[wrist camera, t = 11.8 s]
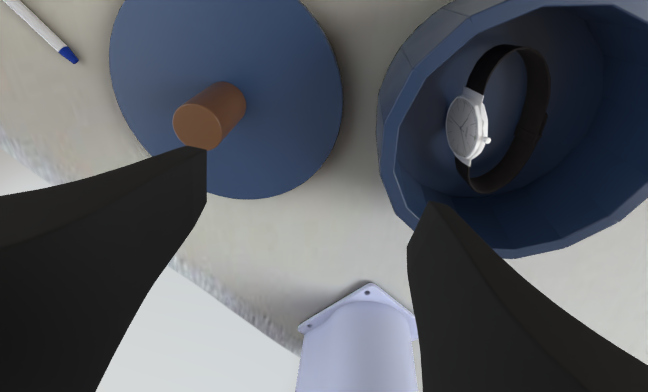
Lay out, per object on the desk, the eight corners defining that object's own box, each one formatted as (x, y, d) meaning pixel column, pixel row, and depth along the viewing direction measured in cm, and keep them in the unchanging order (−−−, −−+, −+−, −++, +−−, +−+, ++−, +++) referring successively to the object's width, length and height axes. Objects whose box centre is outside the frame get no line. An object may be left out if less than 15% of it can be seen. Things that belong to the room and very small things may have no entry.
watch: (454, 42, 17) (475, 55, 14) (555, 36, 16) (599, 49, 13) (437, 175, 21) (449, 208, 18) (516, 174, 20) (543, 208, 17)
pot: (455, 231, 24) (478, 291, 19) (333, 109, 20) (324, 148, 15) (652, 113, 18) (752, 158, 13) (537, -90, 14) (622, -125, 9)
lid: (253, 222, 25) (231, 271, 21) (86, 95, 21) (14, 125, 16) (391, 98, 19) (400, 132, 15) (195, -117, 15) (127, -158, 10)
